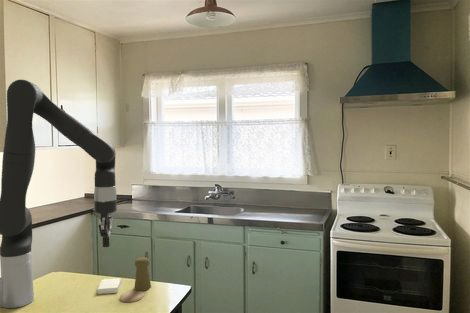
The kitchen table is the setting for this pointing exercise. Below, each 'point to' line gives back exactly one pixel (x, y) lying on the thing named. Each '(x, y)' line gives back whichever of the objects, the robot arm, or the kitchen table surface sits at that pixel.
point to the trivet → (131, 296)
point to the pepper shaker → (142, 274)
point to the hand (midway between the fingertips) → (106, 246)
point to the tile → (109, 286)
